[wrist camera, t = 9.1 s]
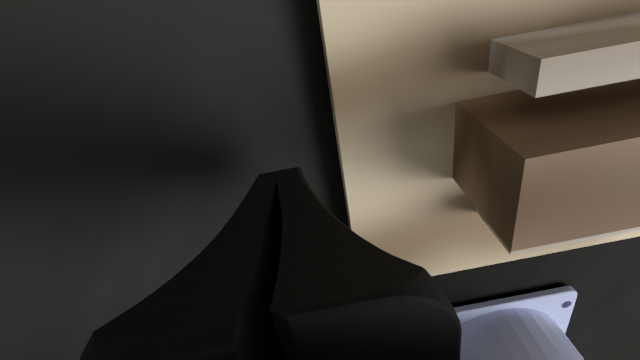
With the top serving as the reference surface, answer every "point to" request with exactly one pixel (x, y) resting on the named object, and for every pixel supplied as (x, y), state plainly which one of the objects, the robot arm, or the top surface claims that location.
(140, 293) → the top surface
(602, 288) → the top surface
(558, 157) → the slat
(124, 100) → the top surface
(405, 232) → the slat board
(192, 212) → the top surface
